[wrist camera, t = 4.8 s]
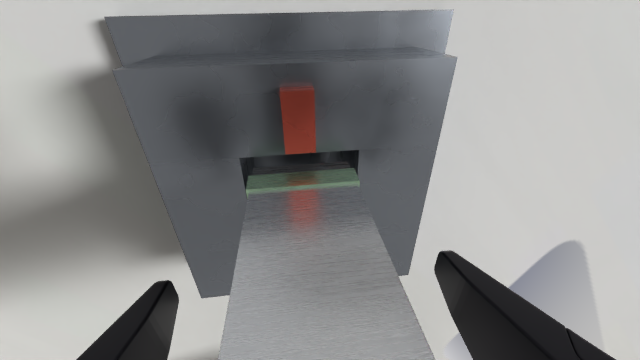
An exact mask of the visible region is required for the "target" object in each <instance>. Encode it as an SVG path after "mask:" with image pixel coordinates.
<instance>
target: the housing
mask: <svg viewBox="0 0 640 360" xmlns="http://www.w3.org/2000/svg"><path fill="white" fill-rule="evenodd" d="M452 15H453V10H411V11H363V12H314V13H265V14H216V15H167V16H119V17H105V20H106V23H107V25H108V28H109V31H110V34H111V36H112V39H113V42H114V44H115V47H116V50H117V53H118V55H119V58H120V61H121V63H122V66H123V67H120V68H117V69H114V70H112V71H113V73H114V76H115V79H116V81H117V84H118V86H119V89H120V91H121V94H122V96H123V99H124V102H125V104H126V107H127V109H128V112H129V114H130V117H131V119H132V122H133V125H134V127H135V130H136V132H137V135H138V137H139V140H140V142H141V145H142V147H143V150H144V153H145V155H146V158H147V160H148V163H149V165H150V168H151V170H152V173H153V176H154V178H155V181H156V183H157V186H158V188H159V191H160V193H161V196H162V199H163V201H164V204H165V206H166V209H167V211H168V214H169V216H170V219H171V222H172V224H173V227H174V229H175V232H176V234H177V237H178V239H179V242H180V245H181V247H182V250H183V252H184V255H185V257H186V260H187V262H188V265H189V267H190V270H191V273H192V275H193V278H194V280H195V283H196V285H197V288H198V290H199V293H200V296H201V298H208V297H217V296H226V295H230V292H231V287H232V281H233V276H234V270H235V265H236V260H237V254H238V249H239V243H240V238H241V232H242V227H243V221H244V216H245V211H246V205H247V200H248V199H247V194H246V186H247V181H248V176H252V172H253V168H261V167H274V166H288V165H302V164H316V163H330V162H344V161H347V162H348V164H349V166H350V168H354V169H355V171H356V174H357V176H358V178H359V180H360V186H359V189H360V191H361V193H362V195H363V198H364V200H365V202H366V204H367V207H368V209H369V211H370V213H371V216H372V218H373V220H374V223H375V225H376V227H377V229H378V232H379V234H380V236H381V238H382V241H383V243H384V245H385V247H386V250H387V252H388V254H389V256H390V259H391V261H392V263H393V265H394V268H395V270H396V272H397V274H398V276H402V275H408V273H409V269H410V265H411V260H412V256H413V251H414V247H415V243H416V238H417V234H418V229H419V225H420V220H421V216H422V212H423V207H424V203H425V198H426V194H427V190H428V185H429V181H430V176H431V172H432V167H433V163H434V159H435V154H436V150H437V145H438V141H439V137H440V132H441V128H442V123H443V119H444V114H445V110H446V106H447V101H448V97H449V92H450V88H451V84H452V79H453V75H454V70H455V66H456V62H457V57H455V56H451V55H447V54H445V50H446V45H447V40H448V35H449V30H450V25H451V20H452Z"/></svg>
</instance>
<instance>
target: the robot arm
mask: <svg viewBox="0 0 640 360" xmlns="http://www.w3.org/2000/svg"><path fill="white" fill-rule="evenodd" d="M434 270H435V275H436V277H437V280H438V282H439V285H440V288H441V290H442V293H443V295H444V298H445V301H446V303H447V306H448V309H449V311H450V313H451V316H452V318H453V320H454V322H455V324H456V326H457V328H458V330H459V332H460V334H461V336H462V338H463V340H464V342H465V344H466V346H467V348H468V350H469V352H470V354H471V356H472V358H473V360H616V359H614V358H613V357H611V356H609V355H608V354H606V353H605V352H603V351H602V350H600V349H598V348H597V347H595V346H594V345H592V344H591V343H589V342H588V341H586V340H585V339H583V338H582V337H580V336H579V335H577V334H575V333H574V332H573V331H571V330H570V329H568V328H565V326H564V325H562V324H560V323H559V322H557V321H556V320H555V319H553V318H552V317H550V316H549V315H547V314H546V313H544V312H543V311H541V310H540V309H538V308H537V307H535V306H534V305H532V304H531V303H529V302H528V301H526V300H525V299H523V298H522V297H520V296H519V295H517V294H516V293H514V292H513V291H511V290H510V289H509V288H507V287H506V286H504V285H503V284H501V283H500V282H498V281H497V280H495V279H494V278H492V277H491V276H489V275H488V274H486V273H485V272H483V271H482V270H480V269H479V268H477V267H476V266H474V265H473V264H471V263H470V262H468V261H467V260H465V259H464V258H462V257H461V256H459V255H458V254H457V253H455V252H453V251H450V250H449V251H441V252H439V254H438V257H437V260H436V264H435V269H434ZM178 303H179V298H178V294H177V292H176V290H175V288H174V286H173V284H172V282H171V281H169V280H167V281H158V282H156V283H154V284H153V285H152V286H151V287H150V288H149V289H148V290H147V291H146V292H145V293H144V294H143V295H142V296H141V297H140V298H139V299H138V300H137V301H136V302H135V303H134V304H133V305H132V306H131V307H130V308H129V309H128V310H127V311H126V312H125V313H124V314H123V315H122V316H120V317H119V318H118V319H117V320H116V321H115V322H114V323H113V324H112V325H111V326H110V327H109V328H108V329H107V330H106V331H105V332H104V333H103V334H102V335H101V336H100V337H99V338H98V339H97V340H96V341H95V342H94V343H93V344H92V345H91V346H90V347H89V348H88V349H87V350H86V351H85V352H84V353H83V354H82V355H81V356H80V357H79V358H78V359H76V360H167V358H168V354H169V350H170V345H171V340H172V335H173V330H174V324H175V319H176V314H177V309H178Z"/></svg>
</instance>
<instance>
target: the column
mask: <svg viewBox="0 0 640 360" xmlns="http://www.w3.org/2000/svg"><path fill="white" fill-rule="evenodd" d="M359 186H360V180H359V178H358V176H357V174H356V171H355V169H354V168H350V166H349V164H348V162H347V161H344V162H330V163H316V164H302V165H288V166H274V167H261V168H253V172H252V176H248V181H247V186H246V194H247V199H248V200H247V205H246V211H245V216H244V221H243V227H242V232H241V238H240V243H239V249H238V254H237V260H236V265H235V270H234V276H233V281H232V287H231V292H230V298H229V303H228V308H227V314H226V319H225V325H224V330H223V336H222V341H221V347H220V352H219V357H218V360H435V358H434V356H433V353H432V351H431V349H430V347H429V344H428V342H427V340H426V338H425V335H424V333H423V331H422V329H421V326H420V324H419V322H418V319H417V317H416V315H415V313H414V310H413V308H412V306H411V304H410V301H409V299H408V297H407V295H406V292H405V290H404V288H403V286H402V283H401V281H400V279H399V277H398V274H397V272H396V270H395V268H394V265H393V263H392V261H391V259H390V256H389V254H388V252H387V250H386V247H385V245H384V243H383V241H382V238H381V236H380V234H379V232H378V229H377V227H376V225H375V223H374V220H373V218H372V216H371V213H370V211H369V209H368V207H367V204H366V202H365V200H364V198H363V195H362V193H361V191H360V189H359Z"/></svg>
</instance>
